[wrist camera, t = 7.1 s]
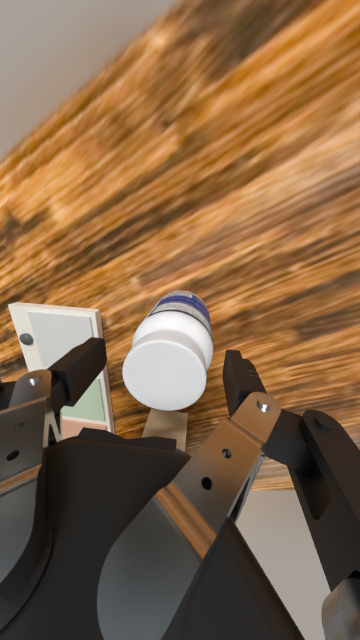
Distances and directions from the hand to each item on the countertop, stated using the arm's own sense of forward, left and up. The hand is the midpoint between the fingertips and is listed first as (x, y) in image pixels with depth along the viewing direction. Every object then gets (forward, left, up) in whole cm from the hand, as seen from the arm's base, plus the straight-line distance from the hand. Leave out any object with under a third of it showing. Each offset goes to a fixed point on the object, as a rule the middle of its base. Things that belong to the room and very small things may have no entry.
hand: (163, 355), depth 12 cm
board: (+14, +12, -8) cm, 20 cm away
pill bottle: (0, 0, -8) cm, 8 cm away
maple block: (+1, +16, -8) cm, 18 cm away
